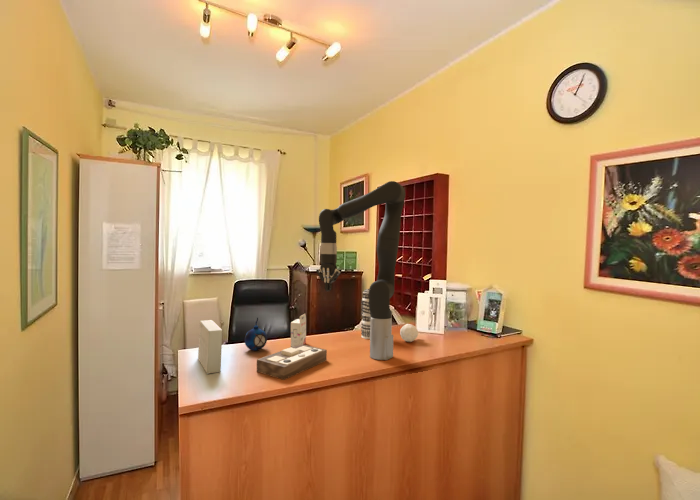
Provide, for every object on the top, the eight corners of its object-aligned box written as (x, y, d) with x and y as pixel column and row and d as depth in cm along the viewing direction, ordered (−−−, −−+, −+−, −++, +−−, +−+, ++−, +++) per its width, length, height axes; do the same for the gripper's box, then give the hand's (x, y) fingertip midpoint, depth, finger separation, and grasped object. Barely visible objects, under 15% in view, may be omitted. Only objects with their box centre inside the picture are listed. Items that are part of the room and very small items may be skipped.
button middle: (299, 356, 138) (299, 349, 138) (290, 360, 134) (291, 352, 133) (290, 354, 140) (290, 347, 140) (281, 357, 136) (281, 350, 136)
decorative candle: (356, 336, 181) (357, 289, 181) (370, 333, 187) (370, 287, 187) (368, 340, 174) (368, 291, 174) (381, 337, 180) (382, 289, 179)
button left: (285, 365, 131) (285, 358, 131) (275, 369, 127) (276, 361, 127) (276, 363, 134) (276, 355, 134) (266, 366, 130) (266, 359, 130)
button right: (312, 355, 144) (312, 347, 144) (304, 358, 140) (304, 350, 140) (303, 352, 147) (303, 345, 147) (295, 355, 143) (295, 348, 143)
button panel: (326, 360, 143) (326, 349, 143) (283, 379, 122) (284, 367, 122) (300, 354, 151) (301, 344, 150) (256, 371, 130) (256, 359, 130)
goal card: (322, 350, 141) (322, 349, 141) (286, 365, 124) (286, 363, 124) (314, 348, 144) (314, 347, 144) (277, 362, 126) (277, 361, 126)
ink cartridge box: (296, 342, 169) (296, 312, 168) (306, 343, 168) (306, 313, 167) (290, 347, 160) (290, 316, 160) (300, 348, 159) (300, 316, 159)
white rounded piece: (414, 341, 166) (425, 339, 175) (410, 322, 169) (421, 321, 178) (398, 344, 171) (410, 342, 180) (395, 325, 174) (406, 324, 183)
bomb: (249, 355, 148) (250, 320, 148) (241, 349, 157) (241, 316, 156) (271, 351, 154) (271, 318, 153) (262, 345, 162) (262, 314, 162)
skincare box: (222, 371, 129) (222, 329, 129) (206, 374, 126) (207, 331, 126) (211, 356, 147) (212, 318, 146) (197, 358, 144) (198, 320, 143)
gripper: (345, 253, 157) (344, 291, 157) (322, 252, 164) (321, 288, 165) (335, 253, 151) (335, 293, 151) (312, 252, 158) (311, 290, 158)
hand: (328, 290), depth 158 cm, fingers closed
